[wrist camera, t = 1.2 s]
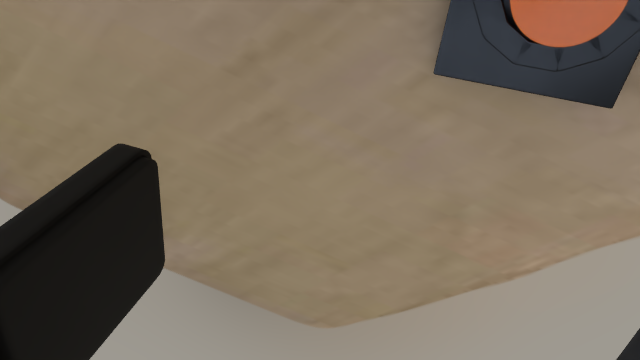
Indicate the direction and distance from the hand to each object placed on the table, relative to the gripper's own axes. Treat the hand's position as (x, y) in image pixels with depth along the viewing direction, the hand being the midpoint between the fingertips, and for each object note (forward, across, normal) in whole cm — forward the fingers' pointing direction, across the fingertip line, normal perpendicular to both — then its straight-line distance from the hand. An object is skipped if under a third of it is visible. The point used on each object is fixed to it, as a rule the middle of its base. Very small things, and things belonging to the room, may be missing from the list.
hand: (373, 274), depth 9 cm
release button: (+17, -4, -3) cm, 18 cm away
